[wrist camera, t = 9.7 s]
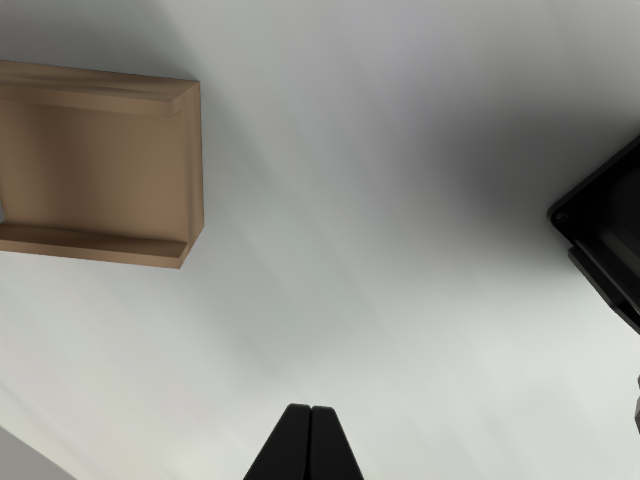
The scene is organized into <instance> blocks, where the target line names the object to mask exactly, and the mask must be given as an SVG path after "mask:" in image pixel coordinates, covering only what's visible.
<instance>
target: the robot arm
mask: <svg viewBox="0 0 640 480" xmlns="http://www.w3.org/2000/svg"><path fill="white" fill-rule="evenodd" d="M562 212H565V214H564V216H563V217H562V218H560V219H556V218H557V216H558V214H560V213H562ZM547 218H548V220H549V222H550V223H551V224H552V225H553V226H554V227H555V228H556V229H557V230H558V231H559V232H560V233H561V234H562V235H563V236H564V237H565V238H567V239H568V240H569V241H570V242H571V243H572V244H573V245H574V246H572V247H571V248H570V249H568V257H569V258H570V259H571V260H572V262H573V263H574V264H575V265H576V267H577V268H578V269H579V270H580V271H581V273H582V274H583V275H584V276H585V277H586V279H587V280H588V281H589V282H590V284H591V285H592V286H593V287H594V288H595V290H596V291H597V292H598V293H599V295H600V296H601V297H602V298H603V299H604V301H605V302H606V303H607V304H608V305H609V307H610V308H611V309H612V310H613V311H614V312H615V313H617V314H618V315H619V316H620V317H621V318H622V319H623V320H624V321H625V322H626V323H627V324H628V325H629V326H631V327H632V328H633V329H634V330H635V331H636V332H637V333H638V334H639V335H640V136H639V137H637V138H636V139H635V140H634V141H632V142H631V143H630V144H629V145H627V146H626V147H625V148H624V149H622V150H621V151H620V152H619V153H618V154H616V155H615V156H614V157H613V158H611V159H610V160H609V161H608V162H606V163H605V164H604V165H603V166H601V167H600V168H599V169H598V170H596V171H595V172H594V173H593V174H591V175H590V176H589V177H588V178H587V179H585V180H584V181H583V182H582V183H580V184H579V185H578V186H577V187H575V188H574V189H573V190H572V191H570V192H569V193H568V194H567V195H565V196H564V197H563V198H562V199H560V200H559V201H558V202H557V203H556V204H554V205H553V206H552V207H551V208H550V209H549V210H548V213H547ZM638 384H639V388H640V375H639V377H638ZM635 421H636V424H637V427H638V430H639V433H640V397H639V398H638V400H637V406H636V412H635ZM243 480H364V478H363V475H362V473H361V471H360V468H359V466H358V464H357V461H356V459H355V457H354V454H353V452H352V450H351V447H350V445H349V443H348V440H347V438H346V436H345V433H344V431H343V428H342V426H341V424H340V421H339V419H338V417H337V414H336V412H335V410H334V409H333V408H331V407H324V406H313V407H312V408H310V406H309V405H304V404H294V403H292V404H289V405H288V406H287V408H286V409H285V411H284V413H283V414H282V416H281V418H280V419H279V421H278V423H277V424H276V426H275V428H274V429H273V431H272V433H271V434H270V436H269V437H268V439H267V441H266V442H265V444H264V446H263V447H262V449H261V451H260V452H259V454H258V456H257V457H256V459H255V461H254V462H253V464H252V465H251V467H250V469H249V470H248V472H247V474H246V475H245V477H244V479H243Z"/></svg>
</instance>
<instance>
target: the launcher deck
mask: <svg viewBox="0 0 640 480" xmlns="http://www.w3.org/2000/svg"><path fill="white" fill-rule="evenodd" d="M0 201H1V205H2V209H3V213H4V217H5V220H4V221H3V222H1V223H0V251H10V252H20V253H29V254H39V255H49V256H58V257H68V258H78V259H87V260H97V261H107V262H116V263H126V264H136V265H145V266H155V267H165V268H174V269H180V267H181V266H182V264H183V262H184V260H185V259H186V257H187V255H188V253H189V252H190V250H191V248H192V246H193V245H194V243H195V241H196V239H197V238H198V236H199V234H200V232H201V231H202V229H203V227H204V207H203V174H202V141H201V107H200V82H199V81H190V80H180V79H171V78H162V77H152V76H143V75H134V74H124V73H115V72H106V71H96V70H87V69H77V68H68V67H59V66H49V65H40V64H31V63H21V62H12V61H2V60H0Z"/></svg>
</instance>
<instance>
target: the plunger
mask: <svg viewBox="0 0 640 480" xmlns="http://www.w3.org/2000/svg"><path fill="white" fill-rule="evenodd" d="M4 220H5V217H4V213H3V209H2V205H1V201H0V223H1V222H3V221H4Z"/></svg>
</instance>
